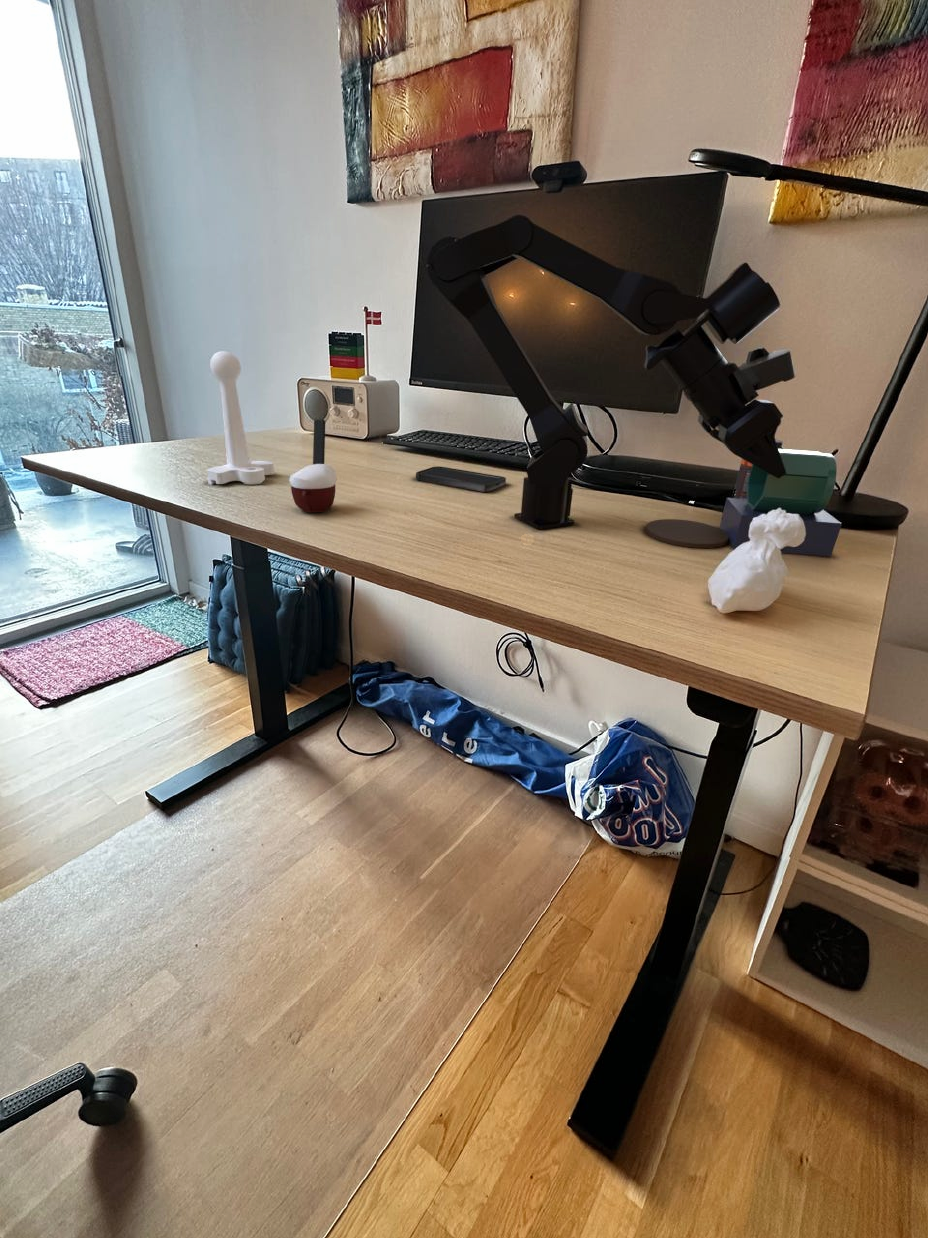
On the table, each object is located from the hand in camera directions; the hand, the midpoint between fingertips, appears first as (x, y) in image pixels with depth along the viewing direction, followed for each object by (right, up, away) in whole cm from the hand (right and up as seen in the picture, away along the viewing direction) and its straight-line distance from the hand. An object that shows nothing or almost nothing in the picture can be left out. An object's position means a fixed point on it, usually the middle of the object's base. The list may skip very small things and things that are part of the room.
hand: (771, 468), depth 76 cm
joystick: (-77, +4, +23) cm, 81 cm away
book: (+2, -9, +4) cm, 10 cm away
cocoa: (-62, -4, +10) cm, 63 cm away
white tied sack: (-11, -18, -15) cm, 26 cm away
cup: (+2, -5, +2) cm, 6 cm away
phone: (-41, +5, +28) cm, 50 cm away
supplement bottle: (+5, -3, +17) cm, 18 cm away
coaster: (-9, -8, +5) cm, 13 cm away
